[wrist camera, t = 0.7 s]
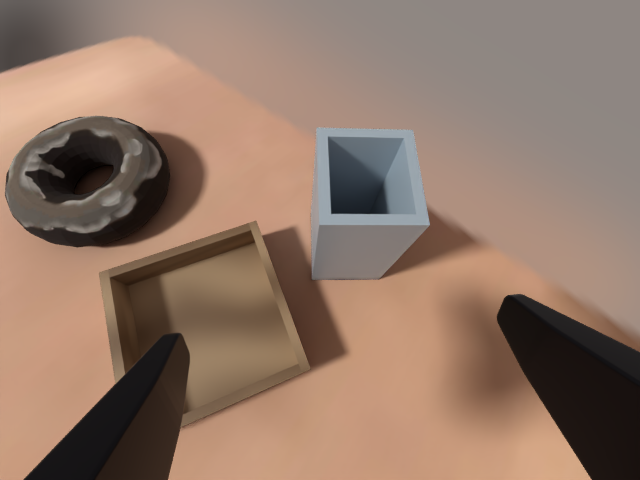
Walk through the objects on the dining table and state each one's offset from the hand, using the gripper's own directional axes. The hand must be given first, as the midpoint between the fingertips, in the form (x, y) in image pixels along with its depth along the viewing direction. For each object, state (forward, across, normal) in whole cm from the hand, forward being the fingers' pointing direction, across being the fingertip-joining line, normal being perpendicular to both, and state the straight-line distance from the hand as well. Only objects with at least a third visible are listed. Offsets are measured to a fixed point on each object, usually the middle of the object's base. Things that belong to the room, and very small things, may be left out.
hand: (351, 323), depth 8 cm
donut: (+21, +17, +4) cm, 28 cm away
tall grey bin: (+15, -3, +8) cm, 17 cm away
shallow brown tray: (+11, +8, +11) cm, 17 cm away
